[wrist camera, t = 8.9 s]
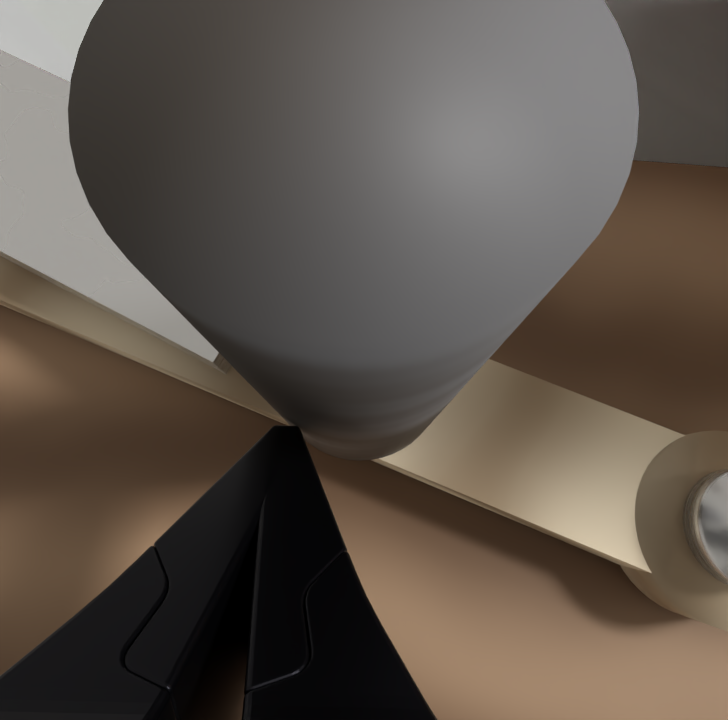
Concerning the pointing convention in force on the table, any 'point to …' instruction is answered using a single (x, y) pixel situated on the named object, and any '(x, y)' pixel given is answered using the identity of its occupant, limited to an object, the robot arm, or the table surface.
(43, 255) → the steel keeper
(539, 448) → the link
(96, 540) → the walnut board
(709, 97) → the table surface
